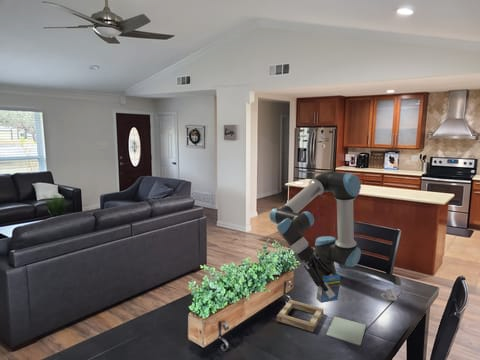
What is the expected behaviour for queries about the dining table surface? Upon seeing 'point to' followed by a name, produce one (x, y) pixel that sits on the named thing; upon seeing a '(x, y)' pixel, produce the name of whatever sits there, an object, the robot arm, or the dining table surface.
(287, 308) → the oak socket frame
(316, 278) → the robot arm
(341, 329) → the sage board
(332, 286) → the label tape box
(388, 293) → the teacup and saucer
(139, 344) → the dining table surface
